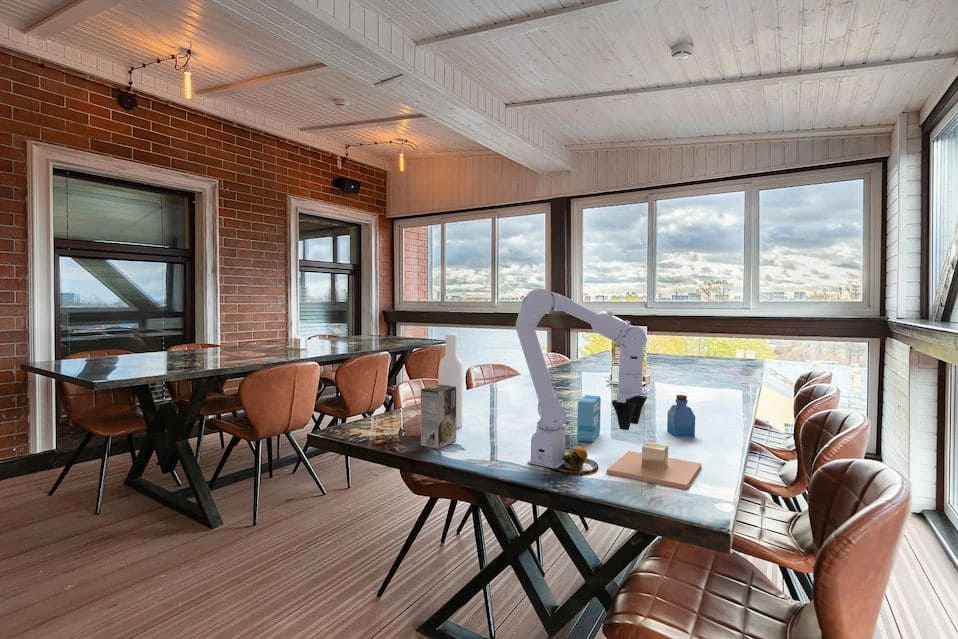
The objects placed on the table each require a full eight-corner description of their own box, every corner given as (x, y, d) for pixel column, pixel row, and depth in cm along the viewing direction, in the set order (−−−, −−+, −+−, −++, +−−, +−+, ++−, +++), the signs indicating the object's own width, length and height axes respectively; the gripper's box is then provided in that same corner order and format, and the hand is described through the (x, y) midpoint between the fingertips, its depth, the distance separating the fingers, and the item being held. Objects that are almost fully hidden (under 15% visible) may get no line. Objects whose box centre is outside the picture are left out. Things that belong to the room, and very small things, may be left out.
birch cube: (663, 471, 119) (663, 450, 119) (641, 467, 122) (642, 446, 122) (667, 465, 123) (668, 445, 123) (646, 461, 126) (647, 441, 126)
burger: (556, 460, 132) (557, 432, 132) (602, 466, 128) (602, 437, 128) (544, 474, 122) (544, 443, 121) (593, 481, 117) (593, 449, 117)
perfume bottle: (694, 436, 154) (695, 397, 154) (674, 436, 154) (675, 397, 154) (686, 431, 160) (687, 394, 160) (667, 431, 160) (668, 393, 160)
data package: (592, 443, 145) (593, 402, 145) (576, 441, 147) (577, 401, 147) (600, 434, 156) (600, 395, 156) (585, 432, 158) (586, 394, 158)
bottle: (434, 428, 161) (435, 334, 160) (443, 422, 168) (444, 332, 167) (458, 430, 159) (458, 335, 158) (465, 424, 166) (466, 333, 165)
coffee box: (438, 438, 149) (439, 384, 149) (456, 441, 146) (457, 386, 145) (419, 445, 141) (420, 388, 141) (438, 449, 138) (438, 390, 137)
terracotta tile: (686, 489, 110) (687, 485, 110) (606, 473, 120) (606, 469, 120) (701, 467, 125) (701, 463, 125) (628, 454, 135) (628, 450, 135)
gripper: (638, 378, 119) (636, 434, 120) (654, 371, 131) (652, 423, 132) (609, 375, 123) (607, 430, 124) (627, 369, 135) (626, 419, 136)
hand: (629, 426), depth 128 cm, fingers open, 7 cm apart
